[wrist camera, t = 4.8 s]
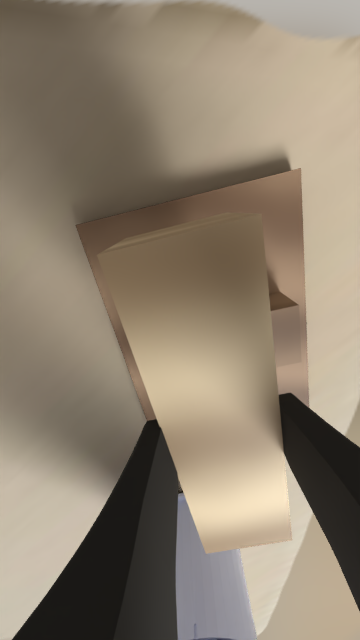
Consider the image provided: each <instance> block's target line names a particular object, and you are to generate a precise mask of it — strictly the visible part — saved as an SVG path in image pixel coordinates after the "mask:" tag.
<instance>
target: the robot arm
mask: <svg viewBox="0 0 360 640" xmlns="http://www.w3.org/2000/svg"><path fill="white" fill-rule="evenodd" d="M279 405H280V416H281V426H282V437H283V448H284V454H285V456H286V459H287V461H288V464H289V466H290V468H291V470H292V472H293V474H294V476H295V478H296V480H297V482H298V484H299V486H300V488H301V490H302V492H303V493H304V495H305V497H306V499H307V501H308V503H309V505H310V507H311V509H312V511H313V513H314V515H315V516H316V518H317V520H318V522H319V524H320V526H321V528H322V530H323V532H324V534H325V536H326V538H327V540H328V542H329V544H330V545H331V547H332V550H333V551H334V554H335V556H336V558H337V560H338V562H339V565H340V567H341V569H342V572H343V574H344V576H345V578H346V581H347V583H348V585H349V587H350V590H351V592H352V595H353V597H354V599H355V602H356V604H357V606H358V609H359V611H360V447H358V446H357V445H356V444H354V443H353V442H351V441H350V440H349V439H348V438H346V437H345V436H344V435H342V434H341V433H340V432H339V431H337V430H336V429H335V428H333V427H332V426H331V425H329V424H328V423H327V422H326V421H324V420H323V419H322V418H321V417H320V416H318V415H317V414H316V413H315V412H313V411H312V410H311V409H310V408H309V407H307V406H306V405H305V404H304V403H303V402H302V401H300V400H299V399H298V398H297V397H296V396H295V395H294V394H292V393H285V394H280V395H279ZM12 640H257V636H256V631H255V625H254V620H253V615H252V610H251V605H250V600H249V595H248V590H247V585H246V580H245V574H244V569H243V564H242V559H241V554H240V549H233V550H227V551H220V552H214V553H208V554H206V553H205V550H204V547H203V545H202V542H201V539H200V536H199V534H198V531H197V528H196V525H195V523H194V520H193V517H192V515H191V512H190V509H189V506H188V504H187V501H186V498H185V495H184V493H180V494H178V473H177V470H176V467H175V464H174V462H173V459H172V456H171V453H170V451H169V448H168V445H167V442H166V440H165V437H164V434H163V431H162V429H161V427H159V424H158V421H157V419H154V420H149V421H147V422H146V424H145V426H144V428H143V430H142V433H141V435H140V437H139V439H138V441H137V444H136V446H135V448H134V450H133V452H132V454H131V456H130V458H129V460H128V462H127V464H126V466H125V468H124V470H123V472H122V474H121V476H120V478H119V480H118V482H117V484H116V486H115V488H114V489H113V491H112V493H111V495H110V497H109V498H108V500H107V502H106V504H105V505H104V507H103V509H102V511H101V512H100V514H99V516H98V517H97V519H96V521H95V522H94V524H93V526H92V527H91V529H90V531H89V532H88V534H87V535H86V537H85V538H84V540H83V542H82V543H81V545H80V546H79V548H78V549H77V551H76V552H75V554H74V555H73V557H72V558H71V560H70V561H69V563H68V564H67V566H66V567H65V568H64V570H63V571H62V573H61V574H60V576H59V577H58V579H57V580H56V582H55V583H54V584H53V586H52V587H51V589H50V590H49V591H48V593H47V594H46V596H45V597H44V598H43V600H42V601H41V602H40V604H39V605H38V606H37V608H36V609H35V610H34V612H33V613H32V614H31V616H30V617H29V618H28V619H27V621H26V622H25V623H24V625H23V626H22V627H21V629H20V630H19V631H18V632H17V634H16V635H15V636H14V638H13V639H12Z"/></svg>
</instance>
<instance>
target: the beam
mask: <svg viewBox="0 0 360 640" xmlns="http://www.w3.org/2000/svg"><path fill="white" fill-rule="evenodd" d="M97 257H98V260H99V262H100V265H101V268H102V270H103V273H104V276H105V279H106V281H107V284H108V287H109V290H110V292H111V295H112V298H113V301H114V303H115V306H116V309H117V312H118V314H119V317H120V320H121V323H122V325H123V328H124V331H125V334H126V336H127V339H128V342H129V345H130V347H131V350H132V353H133V355H134V358H135V361H136V364H137V366H138V369H139V372H140V375H141V377H142V380H143V383H144V386H145V388H146V391H147V394H148V397H149V399H150V402H151V405H152V408H153V410H154V413H155V416H156V419H157V421H158V424H159V427H161V429H162V431H163V434H164V437H165V440H166V442H167V445H168V448H169V451H170V453H171V456H172V459H173V462H174V464H175V467H176V470H177V473H178V479H179V482H180V484H181V487H182V490H183V493H184V495H185V498H186V501H187V504H188V506H189V509H190V512H191V515H192V517H193V520H194V523H195V525H196V528H197V531H198V534H199V536H200V539H201V542H202V545H203V547H204V550H205V553H206V554H208V553H214V552H220V551H227V550H233V549H239V548H246V547H252V546H259V545H265V544H271V543H278V542H284V541H290V540H292V532H291V522H290V511H289V501H288V490H287V479H286V469H285V458H284V448H283V437H282V426H281V416H280V405H279V395H278V384H277V373H276V363H275V352H274V342H273V331H272V320H271V310H270V299H269V289H268V278H267V267H266V257H265V246H264V236H263V225H262V214H256V213H223V214H219V215H215V216H211V217H208V218H204V219H200V220H196V221H192V222H188V223H184V224H180V225H176V226H172V227H168V228H164V229H160V230H156V231H152V232H148V233H145V234H141V235H137V236H133V237H129V238H125V239H124V240H122V241H120V242H118V243H117V244H115V245H113V246H111V247H110V248H108V249H106V250H105V251H103V252H101V253H99V254H98V255H97Z"/></svg>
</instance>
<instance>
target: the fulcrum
mask: <svg viewBox="0 0 360 640" xmlns="http://www.w3.org/2000/svg"><path fill="white" fill-rule="evenodd" d="M223 213H256V214H262V225H263V236H264V246H265V257H266V267H267V278H268V289H269V299H270V310H271V320H272V331H273V342H274V352H275V363H276V373H277V384H278V395H280V394H285V393H292V394H294V395H295V396H296V397H297V398H298V399H299V400H300V401H302V402H303V403H304V404H305V405H306V406H307V407H309V388H308V359H307V330H306V302H305V273H304V244H303V215H302V186H301V168H299V169H295V170H291V171H287V172H284V173H280V174H276V175H272V176H268V177H264V178H260V179H256V180H252V181H248V182H244V183H240V184H236V185H232V186H228V187H224V188H220V189H216V190H212V191H208V192H204V193H201V194H197V195H193V196H189V197H185V198H181V199H177V200H173V201H169V202H165V203H161V204H157V205H153V206H149V207H145V208H141V209H137V210H133V211H129V212H125V213H121V214H118V215H114V216H110V217H106V218H102V219H98V220H94V221H90V222H86V223H82V224H78V225H76V228H77V231H78V233H79V236H80V239H81V241H82V244H83V247H84V250H85V252H86V255H87V258H88V261H89V263H90V266H91V269H92V271H93V274H94V277H95V280H96V282H97V285H98V288H99V291H100V293H101V296H102V299H103V301H104V304H105V307H106V310H107V312H108V315H109V318H110V321H111V323H112V326H113V329H114V331H115V334H116V337H117V340H118V342H119V345H120V348H121V351H122V353H123V356H124V359H125V361H126V364H127V367H128V370H129V372H130V375H131V378H132V381H133V383H134V386H135V389H136V391H137V394H138V397H139V400H140V402H141V405H142V408H143V411H144V413H145V416H146V419H147V421H149V420H154V419H156V416H155V413H154V410H153V408H152V405H151V402H150V399H149V397H148V394H147V391H146V388H145V386H144V383H143V380H142V377H141V375H140V372H139V369H138V366H137V364H136V361H135V358H134V355H133V353H132V350H131V347H130V345H129V342H128V339H127V336H126V334H125V331H124V328H123V325H122V323H121V320H120V317H119V314H118V312H117V309H116V306H115V303H114V301H113V298H112V295H111V292H110V290H109V287H108V284H107V281H106V279H105V276H104V273H103V270H102V268H101V265H100V262H99V260H98V257H97V255H98V254H99V253H101V252H103V251H105V250H106V249H108V248H110V247H111V246H113V245H115V244H117V243H118V242H120V241H122V240H124V239H125V238H129V237H133V236H137V235H141V234H145V233H148V232H152V231H156V230H160V229H164V228H168V227H172V226H176V225H180V224H184V223H188V222H192V221H196V220H200V219H204V218H208V217H211V216H215V215H219V214H223Z"/></svg>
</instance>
